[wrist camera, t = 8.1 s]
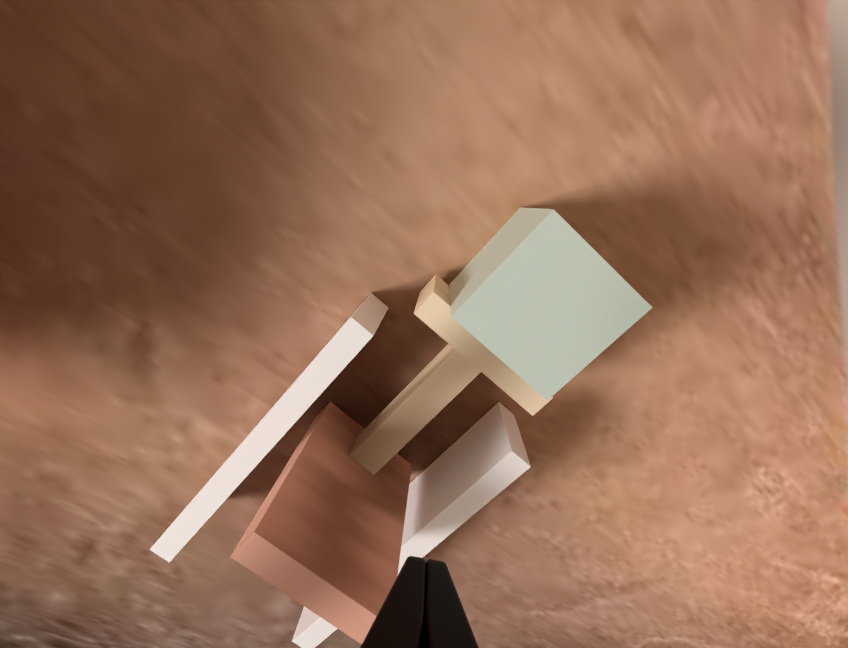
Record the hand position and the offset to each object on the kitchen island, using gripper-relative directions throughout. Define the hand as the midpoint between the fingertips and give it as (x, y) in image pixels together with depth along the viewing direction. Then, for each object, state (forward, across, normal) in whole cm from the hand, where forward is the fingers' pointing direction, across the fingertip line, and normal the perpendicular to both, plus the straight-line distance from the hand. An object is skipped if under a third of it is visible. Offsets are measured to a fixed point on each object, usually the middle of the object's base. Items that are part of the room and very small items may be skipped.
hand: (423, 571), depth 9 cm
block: (+13, -3, -4) cm, 14 cm away
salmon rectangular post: (+12, +1, +2) cm, 13 cm away
